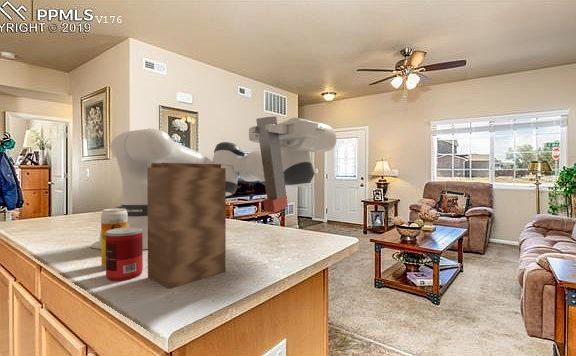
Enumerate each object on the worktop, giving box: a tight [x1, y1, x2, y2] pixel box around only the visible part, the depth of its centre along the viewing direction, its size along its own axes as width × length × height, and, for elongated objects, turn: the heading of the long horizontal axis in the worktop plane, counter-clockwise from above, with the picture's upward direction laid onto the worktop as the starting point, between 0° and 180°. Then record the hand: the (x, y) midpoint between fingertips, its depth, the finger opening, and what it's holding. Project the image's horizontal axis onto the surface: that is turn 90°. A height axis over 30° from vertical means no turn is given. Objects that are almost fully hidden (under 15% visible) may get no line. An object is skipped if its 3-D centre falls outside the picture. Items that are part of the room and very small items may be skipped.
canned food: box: [105, 227, 144, 282], centre depth 73 cm, size 8×8×11 cm
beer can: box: [100, 208, 128, 269], centre depth 81 cm, size 6×6×15 cm
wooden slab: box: [147, 163, 227, 289], centre depth 74 cm, size 15×10×27 cm, turn 138°
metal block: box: [255, 116, 289, 213], centre depth 76 cm, size 23×4×5 cm
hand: (260, 128), depth 73 cm, fingers closed on metal block, 3 cm apart
